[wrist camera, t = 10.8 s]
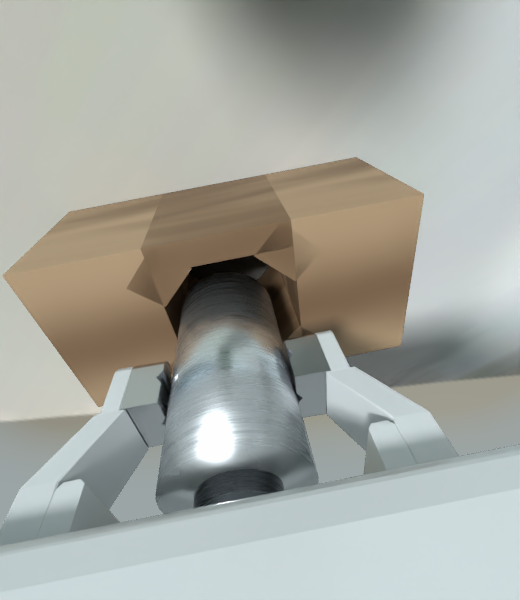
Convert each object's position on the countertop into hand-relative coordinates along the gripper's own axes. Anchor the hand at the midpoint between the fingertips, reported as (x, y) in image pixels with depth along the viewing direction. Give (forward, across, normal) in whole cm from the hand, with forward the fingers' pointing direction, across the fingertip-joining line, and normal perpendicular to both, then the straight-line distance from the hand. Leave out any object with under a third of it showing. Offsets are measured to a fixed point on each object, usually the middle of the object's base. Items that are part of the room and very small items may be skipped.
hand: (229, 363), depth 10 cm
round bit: (+3, 0, 0) cm, 3 cm away
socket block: (+9, 0, 0) cm, 9 cm away
